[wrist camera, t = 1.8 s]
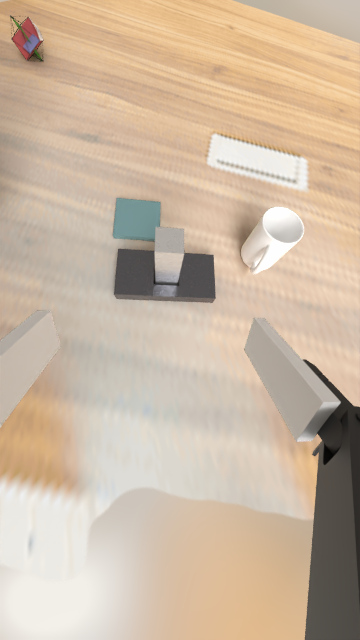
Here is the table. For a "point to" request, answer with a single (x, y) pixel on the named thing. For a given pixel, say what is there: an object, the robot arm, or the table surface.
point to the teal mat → (136, 219)
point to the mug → (271, 238)
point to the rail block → (139, 285)
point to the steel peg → (168, 255)
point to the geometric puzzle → (27, 38)
